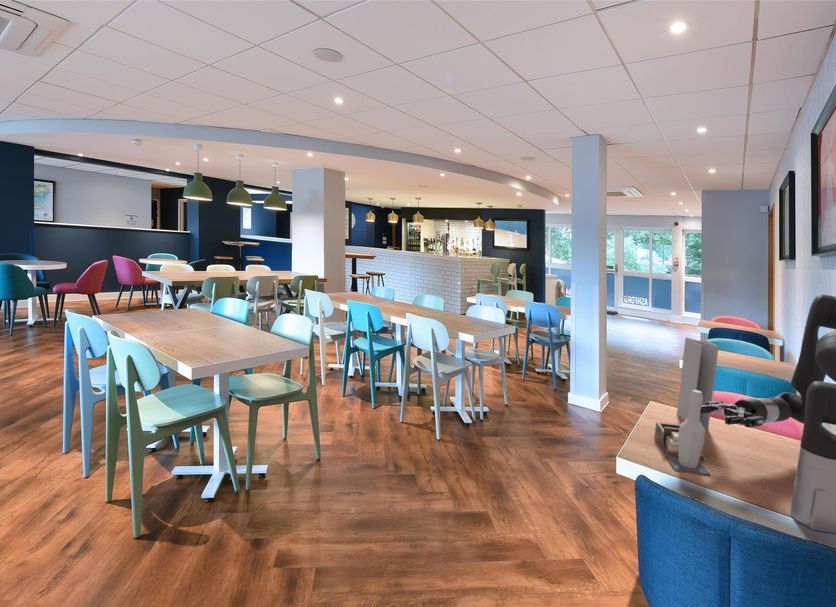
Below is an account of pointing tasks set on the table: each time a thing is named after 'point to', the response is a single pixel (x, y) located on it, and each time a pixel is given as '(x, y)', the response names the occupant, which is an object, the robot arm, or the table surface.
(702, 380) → the brochure
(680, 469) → the mat
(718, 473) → the table surface
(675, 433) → the offcut rack
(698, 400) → the low poly bottle
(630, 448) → the table surface
